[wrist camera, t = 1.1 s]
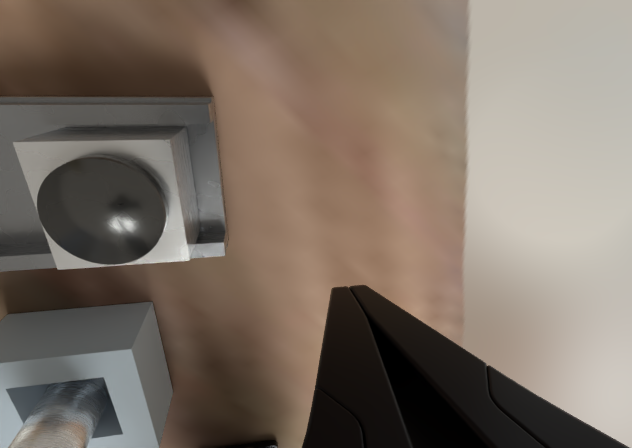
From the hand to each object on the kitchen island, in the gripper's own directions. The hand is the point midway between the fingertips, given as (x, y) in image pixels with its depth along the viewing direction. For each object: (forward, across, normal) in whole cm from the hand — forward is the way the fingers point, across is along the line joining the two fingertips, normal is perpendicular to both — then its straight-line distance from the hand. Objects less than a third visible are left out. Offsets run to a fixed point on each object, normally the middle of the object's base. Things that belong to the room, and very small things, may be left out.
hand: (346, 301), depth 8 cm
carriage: (+11, +8, 0) cm, 14 cm away
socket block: (+12, +13, +12) cm, 21 cm away
